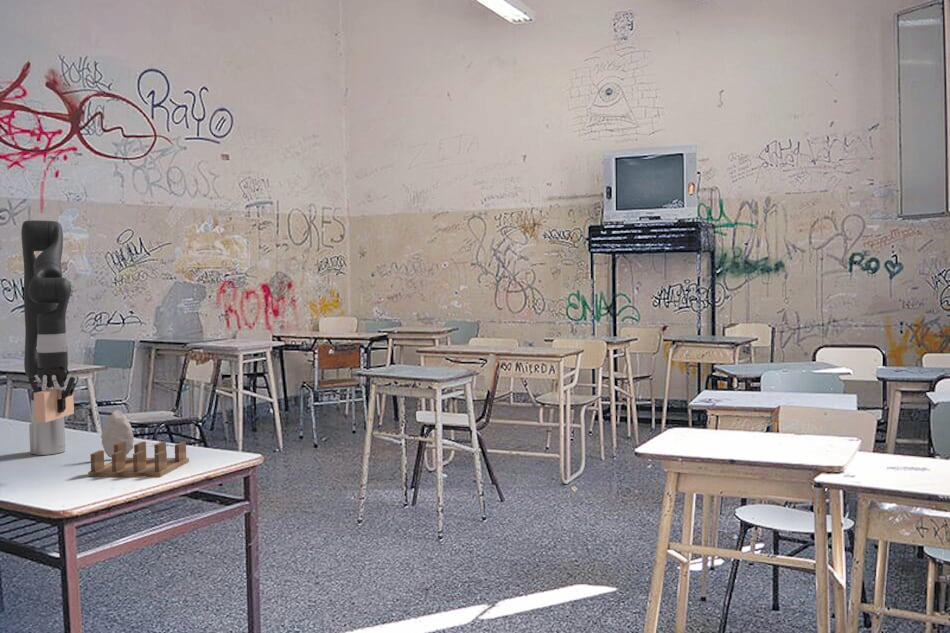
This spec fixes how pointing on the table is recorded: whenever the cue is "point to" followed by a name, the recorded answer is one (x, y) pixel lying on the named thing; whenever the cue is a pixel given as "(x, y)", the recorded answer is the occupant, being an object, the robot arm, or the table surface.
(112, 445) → the stone tool
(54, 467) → the table surface
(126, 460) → the drying rack
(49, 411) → the peach rectangular block
